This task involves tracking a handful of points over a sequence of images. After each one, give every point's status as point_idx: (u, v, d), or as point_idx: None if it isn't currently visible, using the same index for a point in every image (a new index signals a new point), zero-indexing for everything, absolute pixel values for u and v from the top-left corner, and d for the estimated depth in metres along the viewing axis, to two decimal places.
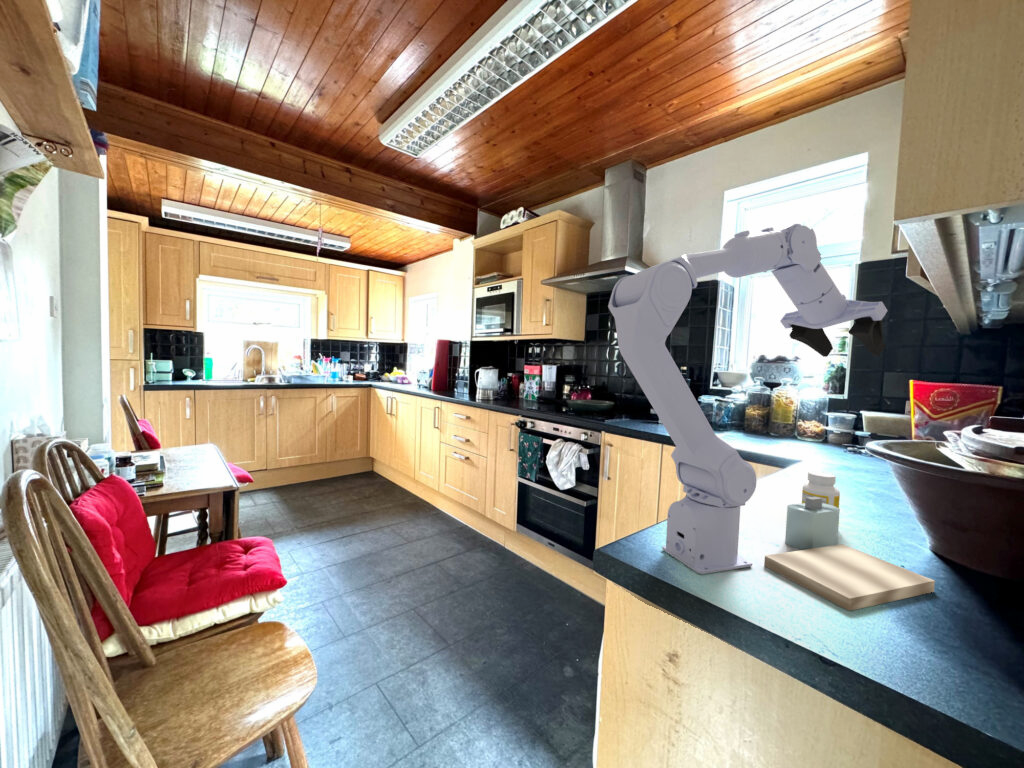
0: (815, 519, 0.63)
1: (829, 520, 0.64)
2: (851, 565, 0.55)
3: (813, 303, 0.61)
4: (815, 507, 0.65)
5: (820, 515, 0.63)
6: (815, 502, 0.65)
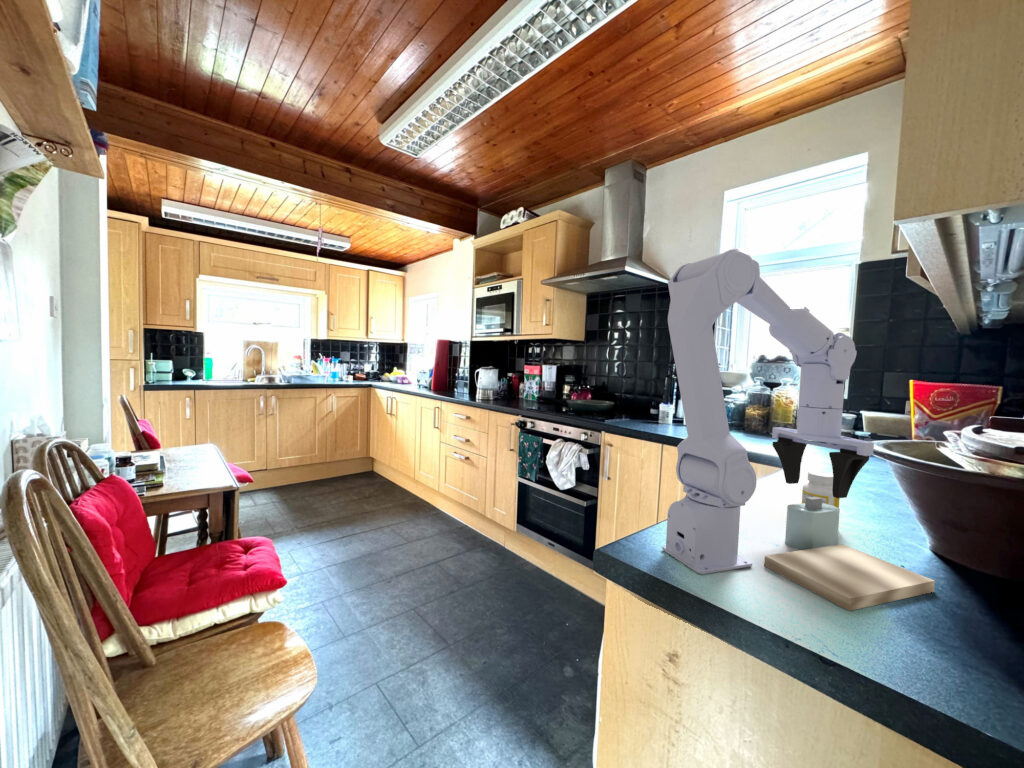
0: (815, 519, 0.63)
1: (829, 520, 0.64)
2: (851, 565, 0.55)
3: (817, 410, 0.63)
4: (815, 507, 0.65)
5: (820, 515, 0.63)
6: (815, 502, 0.65)
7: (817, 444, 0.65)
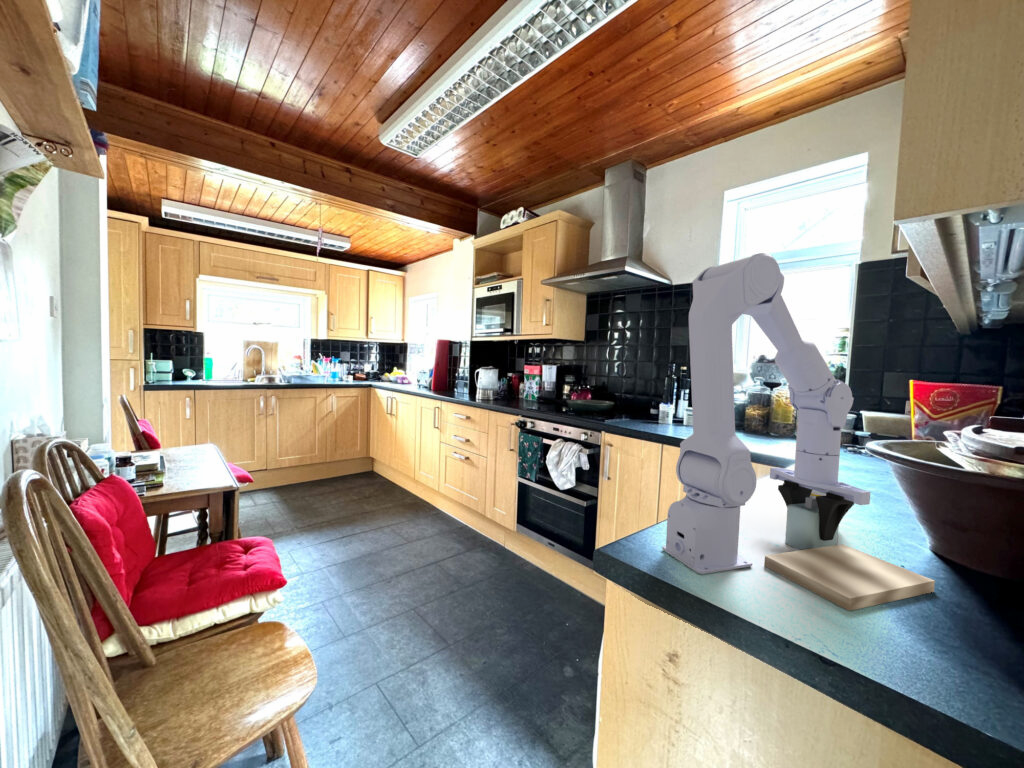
0: (816, 519, 0.63)
1: None
2: (851, 565, 0.55)
3: (814, 456, 0.63)
4: (815, 507, 0.65)
5: None
6: (815, 502, 0.65)
7: (814, 488, 0.65)
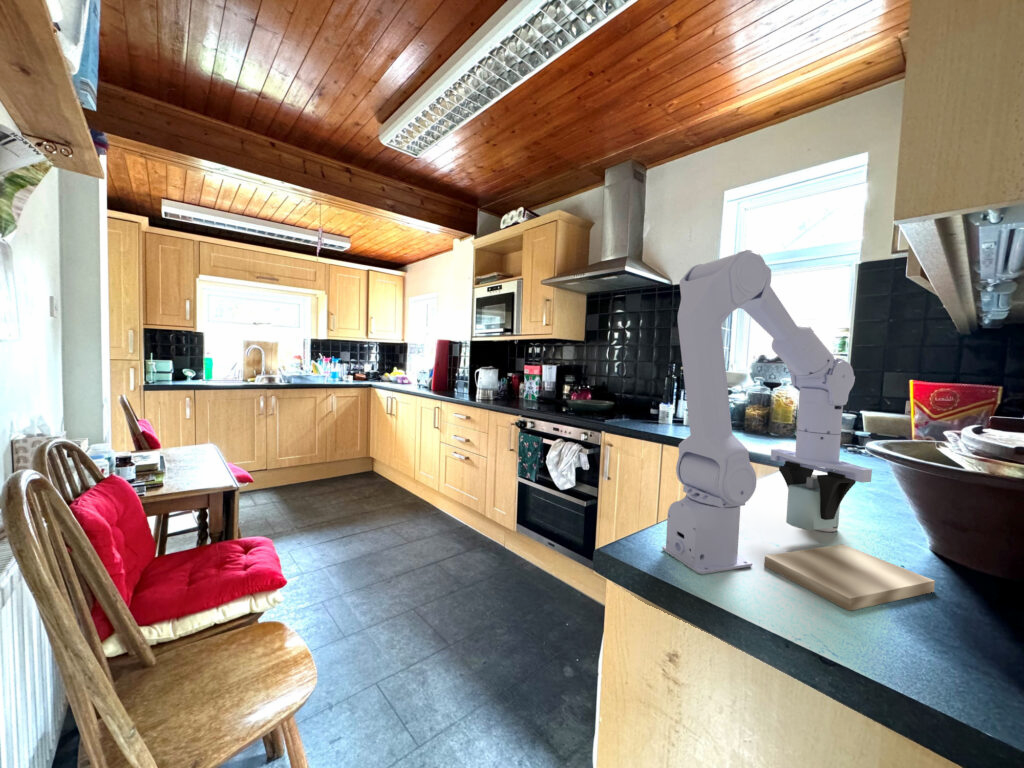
0: (817, 498, 0.63)
1: None
2: (851, 565, 0.55)
3: (815, 435, 0.63)
4: (816, 487, 0.65)
5: None
6: (817, 481, 0.65)
7: (815, 468, 0.65)
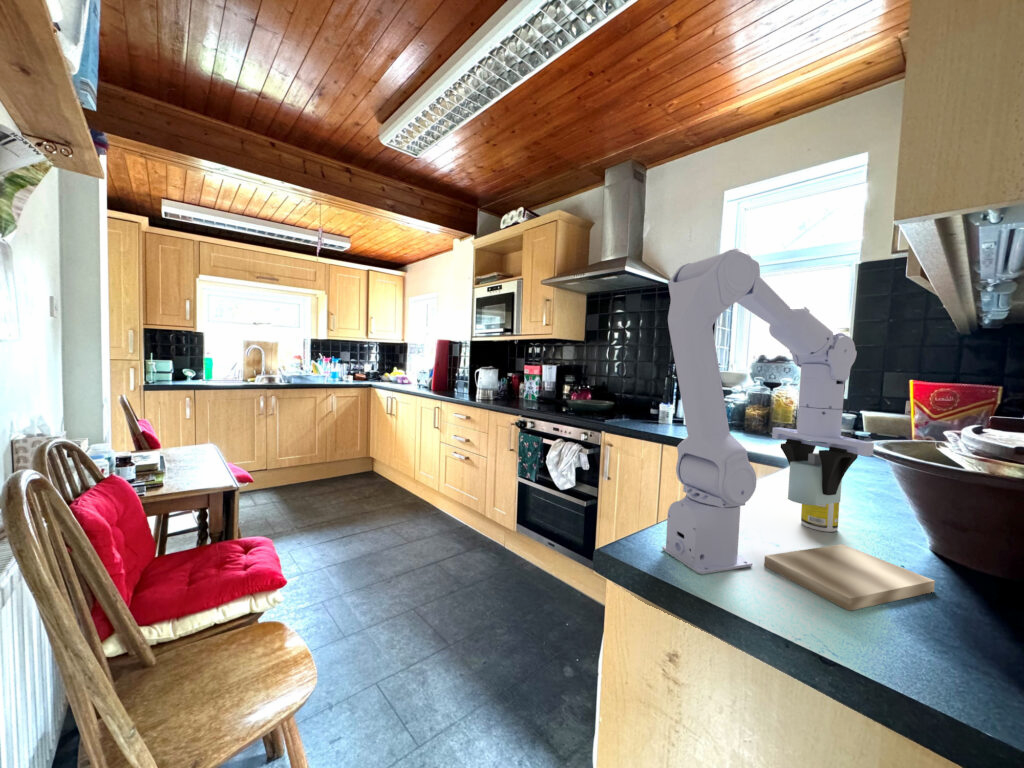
0: (818, 473, 0.63)
1: None
2: (851, 565, 0.55)
3: (817, 410, 0.63)
4: (818, 463, 0.65)
5: None
6: (818, 457, 0.65)
7: (817, 444, 0.65)
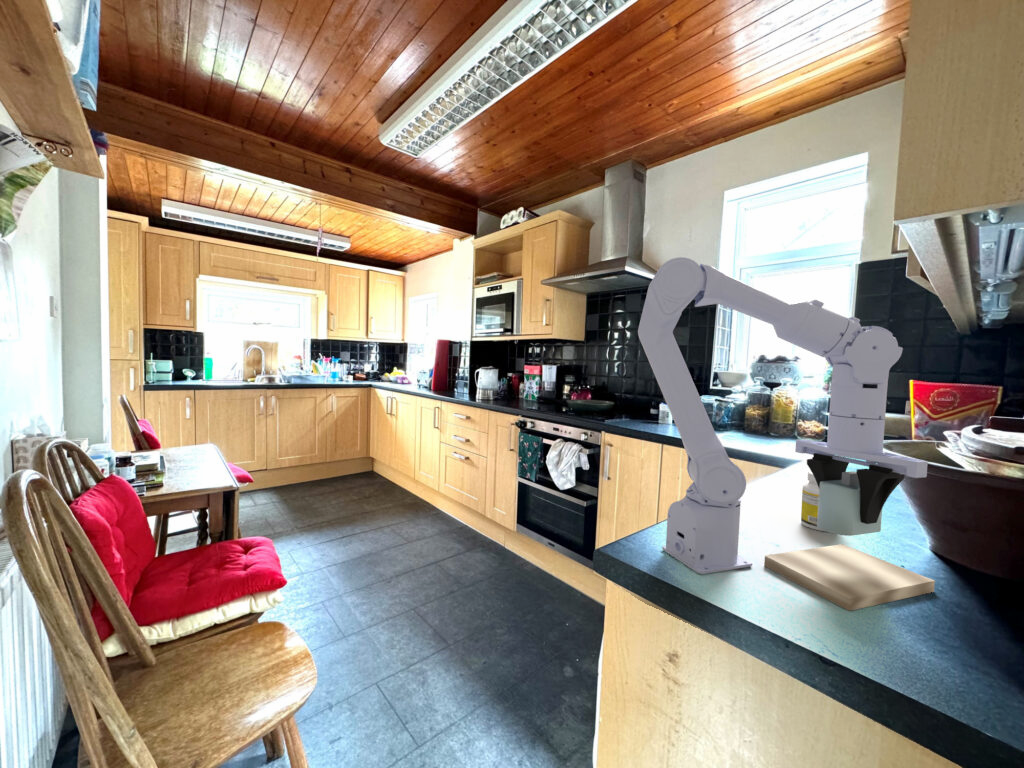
0: (856, 497, 0.52)
1: None
2: (851, 565, 0.55)
3: (854, 420, 0.52)
4: (854, 483, 0.54)
5: None
6: (854, 477, 0.54)
7: (853, 461, 0.54)
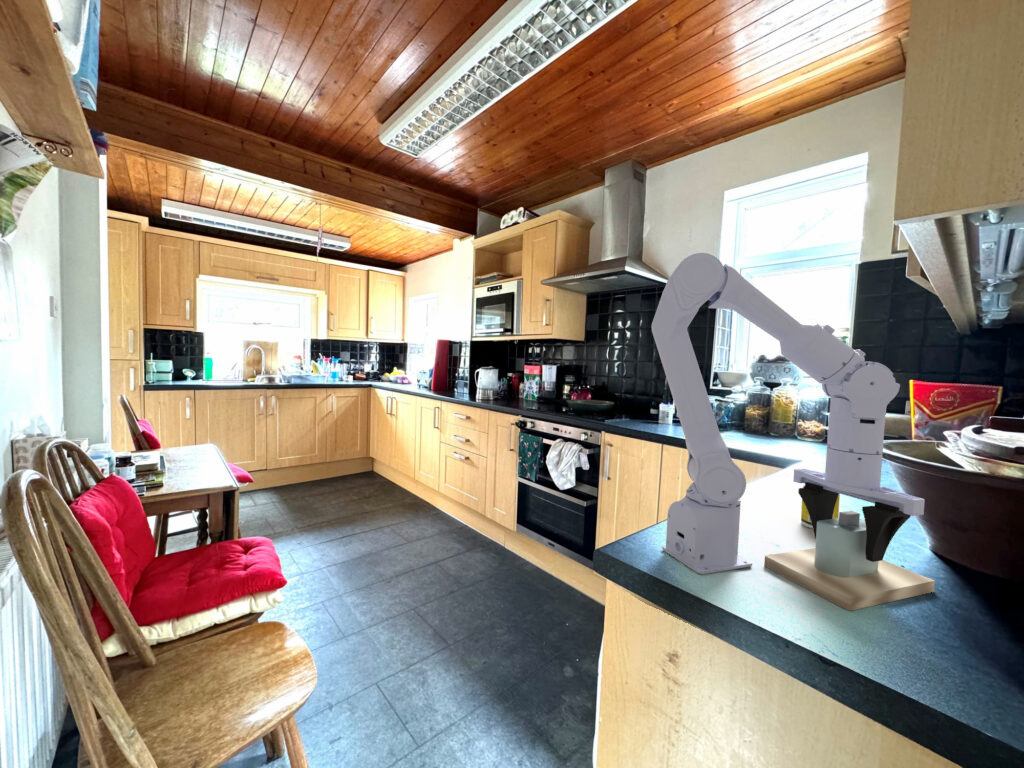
0: (853, 539, 0.52)
1: None
2: None
3: (851, 455, 0.52)
4: (851, 524, 0.54)
5: (858, 534, 0.52)
6: (852, 518, 0.54)
7: (850, 494, 0.54)
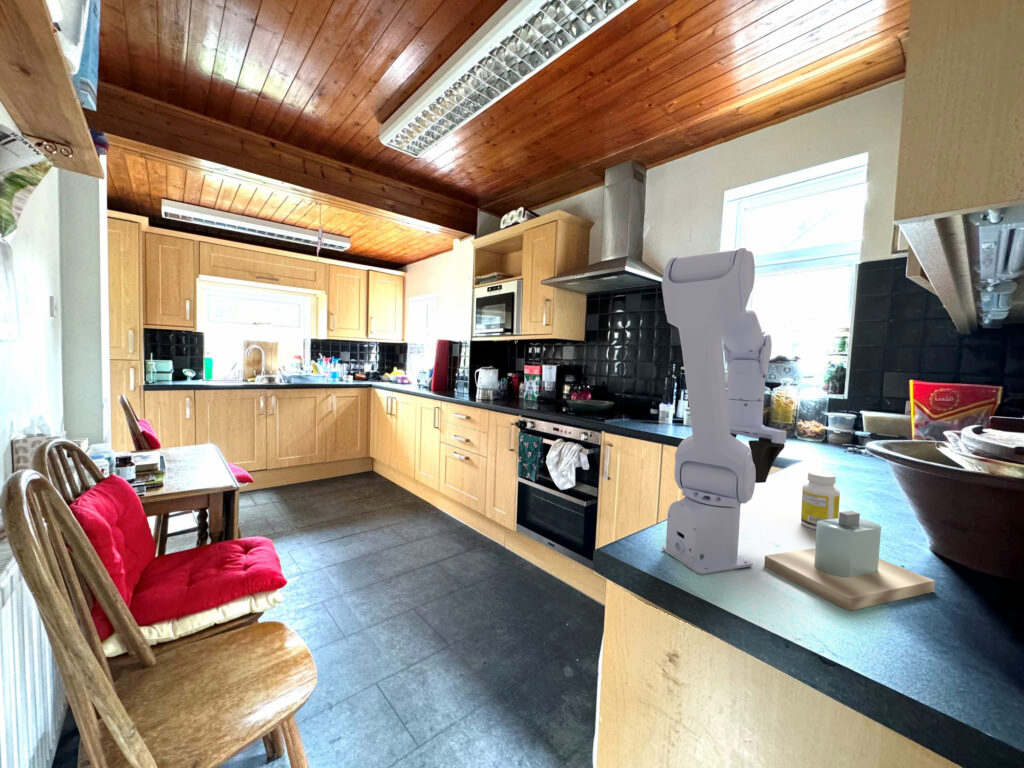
0: (853, 539, 0.52)
1: (869, 540, 0.53)
2: None
3: (739, 402, 0.68)
4: (851, 524, 0.54)
5: (858, 534, 0.52)
6: (852, 518, 0.54)
7: (742, 434, 0.70)
